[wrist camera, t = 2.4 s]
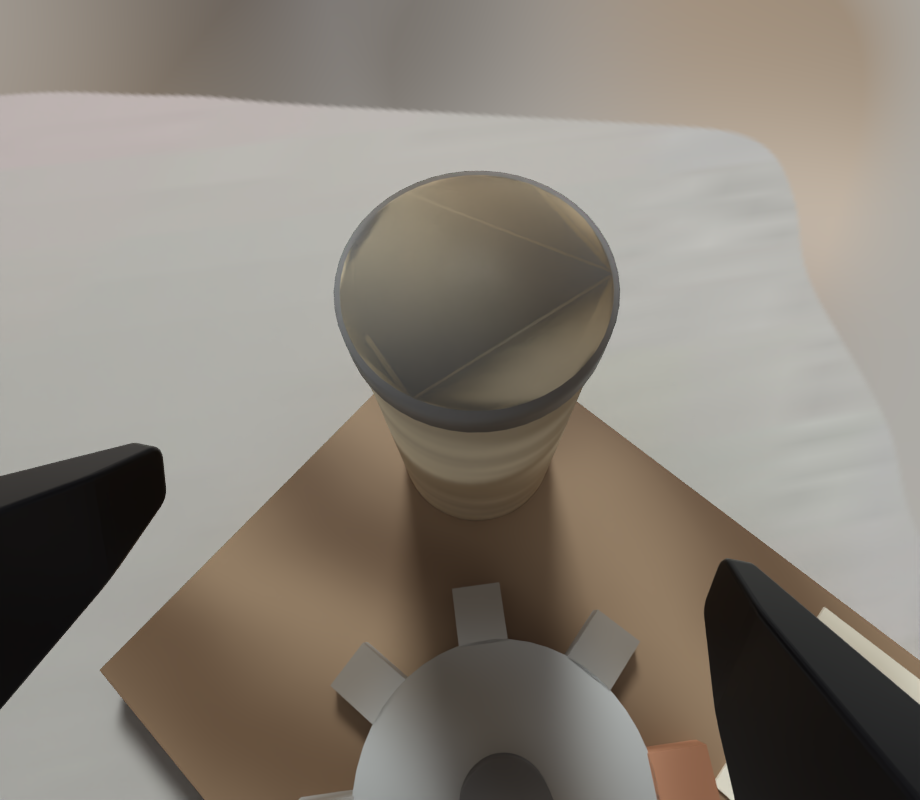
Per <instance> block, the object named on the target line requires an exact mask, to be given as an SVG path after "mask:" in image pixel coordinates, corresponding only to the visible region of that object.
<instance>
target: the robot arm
mask: <svg viewBox="0 0 920 800" xmlns="http://www.w3.org/2000/svg"><path fill="white" fill-rule="evenodd" d="M165 495H166V483H165V474H164V464H163V456H162V453H161V451H160V450H159V449H158V448H157V447H154V446H149V445H144V444H139V443H131V444H127V445H123V446H119V447H115V448H111V449H107V450H103V451H99V452H95V453H91V454H87V455H83V456H79V457H75V458H71V459H67V460H63V461H59V462H55V463H51V464H47V465H43V466H39V467H35V468H31V469H27V470H23V471H19V472H15V473H11V474H7V475H3V476H0V709H1V708H2V707H3V706H4V705H5V703H6V702H7V701H8V700H9V699H10V697H11V696H12V695H13V694H14V693H15V692H16V690H17V689H18V688H19V687H20V686H21V684H22V683H23V682H24V681H25V680H26V679H27V677H28V676H29V675H30V674H31V673H32V671H33V670H34V669H35V668H36V667H37V666H38V664H39V663H40V662H41V661H42V660H43V658H44V657H45V656H46V655H47V654H48V653H49V651H50V650H51V649H52V648H53V647H54V645H55V644H56V643H57V642H58V641H59V640H60V638H61V637H62V636H63V635H64V634H65V632H66V631H67V630H68V629H69V628H70V627H71V625H72V624H73V623H74V622H75V621H76V620H77V618H78V617H79V616H80V615H81V614H82V612H83V611H84V610H85V609H86V608H87V607H88V605H89V604H90V603H91V602H92V601H93V599H94V598H95V597H96V596H97V595H98V594H99V592H100V591H101V590H102V589H103V587H104V586H105V585H106V584H107V582H108V581H109V580H110V579H111V577H112V576H113V575H114V573H115V572H116V570H117V569H118V568H119V566H120V565H121V563H122V562H123V561H124V559H125V558H126V556H127V555H128V553H129V552H130V550H131V549H132V548H133V546H134V545H135V543H136V542H137V540H138V539H139V537H140V536H141V534H142V533H143V532H144V530H145V529H146V527H147V526H148V524H149V523H150V521H151V520H152V519H153V517H154V516H155V514H156V513H157V511H158V510H159V508H160V507H161V505H162V504H163V501H164V499H165ZM704 621H705V630H706V639H707V648H708V657H709V666H710V675H711V684H712V693H713V700H714V708H715V714H716V719H717V724H718V729H719V733H720V738H721V742H722V746H723V751H724V755H725V760H726V764H727V768H728V773H729V777H730V781H731V786H732V790H733V794H734V799H735V800H920V704H919V703H918V702H916V701H915V700H914V699H913V698H912V697H910V696H909V695H908V694H907V693H906V692H905V691H903V690H902V689H901V688H900V687H899V686H897V685H896V684H895V683H894V682H893V681H892V680H890V679H889V678H888V677H887V676H886V675H884V674H883V673H882V672H881V671H880V670H879V669H877V668H876V667H875V666H874V665H873V664H871V663H870V662H869V661H868V660H867V659H866V658H864V657H863V656H862V655H861V654H860V653H858V652H857V651H856V650H855V649H854V648H853V647H851V646H850V645H849V644H848V643H847V642H845V641H844V640H843V639H842V638H841V637H839V636H838V635H837V634H836V633H835V632H834V631H832V630H831V629H830V628H829V627H828V626H826V625H825V624H824V623H823V622H822V621H821V620H819V619H818V618H817V617H816V616H815V615H813V614H812V613H811V612H810V611H809V610H808V609H806V608H805V607H804V606H803V605H802V604H800V603H799V602H798V601H797V600H796V599H795V598H793V597H792V596H791V595H790V594H789V593H787V592H786V591H785V590H784V589H783V588H782V587H780V586H779V585H778V584H777V583H776V582H774V581H773V580H772V579H771V578H770V577H769V576H767V575H766V574H765V573H764V572H763V571H761V570H760V569H759V568H758V567H757V566H755V565H754V564H752V563H750V562H745V561H740V560H735V559H729V558H726V559H724V560H722V561H721V562H720V564H719V566H718V568H717V571H716V573H715V576H714V579H713V581H712V584H711V587H710V589H709V592H708V595H707V597H706V600H705V605H704Z"/></svg>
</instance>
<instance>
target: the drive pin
mask: <svg viewBox="0 0 920 800" xmlns="http://www.w3.org/2000/svg"><path fill="white" fill-rule="evenodd" d="M619 300H620V285H619V276H618V271H617V267H616V263H615V260H614V256H613V254H612V252H611V250H610V247H609V245H608V243H607V241H606V239H605V238H604V236H603V235H602V233H601V231H600V230H599V228H598V227H597V226H596V225H595V223H594V222H593V221H592V220H591V218H590V217H589V216H588V215H587V214H586V213H585V212H584V211H583V210H582V209H580V208H579V207H578V206H577V205H576V204H575V203H573V202H572V201H571V200H569V199H568V198H567V197H565V196H564V195H562V194H560V193H559V192H557V191H555V190H553V189H552V188H550V187H548V186H545V185H543V184H541V183H538V182H536V181H534V180H530V179H527V178H524V177H521V176H517V175H512V174H507V173H501V172H491V171H464V172H456V173H448V174H444V175H440V176H435V177H431V178H429V179H426V180H423V181H420V182H417V183H415V184H413V185H411V186H408V187H406V188H404V189H402V190H400V191H399V192H397V193H395V194H394V195H392V196H391V197H389V198H387V199H386V200H385V201H383V202H382V203H381V204H380V205H378V206H377V207H376V208H375V209H374V210H373V211H372V212H371V213H370V214H369V215H368V216H367V217H366V218H365V219H364V220H363V221H362V222H361V223H360V225H359V226H358V227H357V229H356V230H355V231H354V232H353V234H352V236H351V237H350V239H349V241H348V243H347V244H346V246H345V248H344V251H343V253H342V256H341V258H340V261H339V264H338V268H337V272H336V276H335V285H334V305H335V313H336V317H337V322H338V326H339V329H340V331H341V334H342V336H343V339H344V342H345V344H346V346H347V348H348V350H349V352H350V355H351V357H352V359H353V361H354V363H355V365H356V366H357V368H358V370H359V372H360V374H361V375H362V377H363V378H364V379H365V380H366V382H367V383H368V384H369V386H370V387H371V389H372V391H373V393H374V395H375V398H376V400H377V402H378V405H379V407H380V409H381V411H382V414H383V416H384V418H385V421H386V423H387V425H388V427H389V430H390V432H391V434H392V437H393V439H394V441H395V443H396V446H397V448H398V450H399V453H400V455H401V457H402V459H403V462H404V464H405V466H406V469H407V471H408V473H409V475H410V478H411V480H412V482H413V484H414V485H415V487H416V489H417V490H418V491H419V493H420V494H421V495H422V497H423V498H424V499H425V500H426V501H427V502H428V503H430V504H431V505H432V506H434V507H435V508H436V509H438V510H440V511H441V512H443V513H445V514H447V515H450V516H452V517H455V518H459V519H463V520H471V521H484V520H491V519H495V518H499V517H502V516H505V515H507V514H509V513H511V512H513V511H515V510H517V509H518V508H520V507H521V506H522V505H524V504H525V503H526V502H527V501H528V500H529V499H530V498H531V497H532V496H533V495H534V493H535V492H536V491H537V489H538V488H539V486H540V484H541V483H542V481H543V479H544V476H545V474H546V472H547V469H548V467H549V465H550V462H551V460H552V458H553V455H554V453H555V451H556V448H557V446H558V444H559V441H560V439H561V437H562V434H563V432H564V429H565V427H566V425H567V422H568V420H569V418H570V415H571V413H572V411H573V408H574V406H575V404H576V401H577V399H578V397H579V394H580V392H581V390H582V387H583V386H584V384H585V383H586V382H587V380H588V379H589V378H590V376H591V375H592V374H593V372H594V370H595V368H596V367H597V365H598V363H599V361H600V359H601V357H602V355H603V353H604V351H605V348H606V346H607V344H608V342H609V339H610V337H611V334H612V332H613V329H614V326H615V323H616V320H617V314H618V309H619Z"/></svg>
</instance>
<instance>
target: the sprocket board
mask: <svg viewBox="0 0 920 800" xmlns="http://www.w3.org/2000/svg"><path fill="white" fill-rule="evenodd" d="M726 558H729V559H735V560H740V561H745V562H750V563H752V564H754V565H755V566H757V567H758V568H759V569H760V570H761V571H763V572H764V573H765V574H766V575H767V576H769V577H770V578H771V579H772V580H773V581H774V582H776V583H777V584H778V585H779V586H780V587H782V588H783V589H784V590H785V591H786V592H787V593H789V594H790V595H791V596H792V597H793V598H795V599H796V600H797V601H798V602H799V603H800V604H802V605H803V606H804V607H805V608H806V609H808V610H809V611H810V612H811V613H812V614H813V615H815V616H816V617H817V618H818V619H819V620H821V621H822V622H823V623H824V624H825V625H826V626H828V627H829V628H830V629H831V630H832V631H834V632H835V633H836V634H837V635H838V636H839V637H841V638H842V639H843V640H844V641H845V642H847V643H848V644H849V645H850V646H851V647H853V648H854V649H855V650H856V651H857V652H858V653H860V654H861V655H862V656H863V657H864V658H866V659H867V660H868V661H869V662H870V663H871V664H873V665H874V666H875V667H876V668H877V669H879V670H880V671H881V672H882V673H883V674H884V675H886V676H887V677H888V678H889V679H890V680H892V681H893V682H894V683H895V684H896V685H897V686H899V687H900V688H901V689H902V690H903V691H905V692H906V693H907V694H908V695H909V696H910V697H912V698H913V699H914V700H915V701H916V702H918V703H919V704H920V660H918V659H917V658H916V657H914V656H913V655H912V654H910V653H909V652H908V651H906V650H905V649H904V648H902V647H901V646H900V645H898V644H897V643H896V642H894V641H893V640H892V639H890V638H889V637H888V636H886V635H885V634H884V633H882V632H881V631H880V630H878V629H877V628H876V627H875V626H873V625H872V624H871V623H869V622H868V621H867V620H865V619H864V618H863V617H861V616H860V615H859V614H857V613H856V612H855V611H853V610H852V609H851V608H849V607H848V606H847V605H845V604H844V603H843V602H841V601H840V600H839V599H837V598H836V597H835V596H833V595H832V594H831V593H829V592H828V591H827V590H826V589H824V588H823V587H822V586H820V585H819V584H818V583H816V582H815V581H814V580H812V579H811V578H810V577H808V576H807V575H806V574H804V573H803V572H802V571H800V570H799V569H798V568H796V567H795V566H794V565H792V564H791V563H790V562H788V561H787V560H786V559H784V558H783V557H782V556H780V555H779V554H778V553H777V552H775V551H774V550H773V549H771V548H770V547H769V546H767V545H766V544H765V543H763V542H762V541H761V540H759V539H758V538H757V537H755V536H754V535H753V534H751V533H750V532H749V531H747V530H746V529H745V528H743V527H742V526H741V525H739V524H738V523H737V522H735V521H734V520H733V519H731V518H730V517H729V516H727V515H726V514H725V513H724V512H722V511H721V510H720V509H718V508H717V507H716V506H714V505H713V504H712V503H710V502H709V501H708V500H706V499H705V498H704V497H702V496H701V495H700V494H698V493H697V492H696V491H694V490H693V489H692V488H690V487H689V486H688V485H686V484H685V483H684V482H682V481H681V480H680V479H678V478H677V477H676V476H675V475H673V474H672V473H671V472H669V471H668V470H667V469H665V468H664V467H663V466H661V465H660V464H659V463H657V462H656V461H655V460H653V459H652V458H651V457H649V456H648V455H647V454H645V453H644V452H643V451H641V450H640V449H639V448H637V447H636V446H635V445H633V444H632V443H631V442H629V441H628V440H627V439H626V438H624V437H623V436H622V435H620V434H619V433H618V432H616V431H615V430H614V429H612V428H611V427H610V426H608V425H607V424H606V423H604V422H603V421H602V420H600V419H599V418H598V417H596V416H595V415H594V414H592V413H591V412H590V411H588V410H587V409H586V408H584V407H583V406H582V405H580V404H579V403H578V402H577V401H576V404H575V406H574V408H573V411H572V413H571V415H570V418H569V420H568V422H567V425H566V427H565V429H564V432H563V434H562V437H561V439H560V441H559V444H558V446H557V448H556V451H555V453H554V455H553V458H552V460H551V462H550V465H549V467H548V469H547V472H546V474H545V476H544V479H543V481H542V483H541V484H540V486H539V488H538V489H537V491H536V492H535V493H534V495H533V496H532V497H531V498H530V499H529V500H528V501H527V502H526V503H525V504H524V505H522V506H521V507H520V508H518V509H517V510H515V511H513V512H511V513H509V514H507V515H505V516H502V517H499V518H495V519H491V520H484V521H471V520H463V519H459V518H455V517H452V516H450V515H447V514H445V513H443V512H441V511H440V510H438V509H436V508H435V507H434V506H432V505H431V504H430V503H428V502H427V501H426V500H425V499H424V498H423V497H422V495H421V494H420V493H419V491H418V490H417V489H416V487H415V485H414V484H413V482H412V480H411V478H410V475H409V473H408V471H407V469H406V466H405V464H404V462H403V459H402V457H401V455H400V453H399V450H398V448H397V446H396V443H395V441H394V439H393V437H392V434H391V432H390V430H389V427H388V425H387V423H386V421H385V418H384V416H383V414H382V411H381V409H380V407H379V405H378V402H377V400H376V398H375V395H374V394H373V395H372V396H371V397H370V398H369V399H368V400H367V401H366V402H365V403H364V404H363V405H362V406H361V407H360V408H359V409H358V411H357V412H356V413H355V414H354V415H353V416H352V417H351V418H350V419H349V420H348V421H347V422H346V423H345V424H344V425H343V426H342V427H341V428H340V429H339V430H338V431H337V432H336V433H335V434H334V435H333V436H332V437H331V438H330V439H329V440H328V441H327V442H326V443H325V444H324V445H323V446H322V447H321V448H320V449H319V450H318V451H317V452H316V453H315V454H314V455H313V456H312V457H311V458H310V459H309V460H308V461H307V462H306V463H305V464H304V465H303V466H302V467H301V468H300V469H299V470H298V471H297V472H296V473H295V474H294V475H293V476H292V477H291V478H290V479H289V480H288V481H287V482H286V483H285V484H284V485H283V486H282V487H281V488H280V489H279V490H278V491H277V492H276V493H275V494H274V495H273V496H272V497H271V498H270V499H269V500H268V501H267V502H266V503H265V504H264V505H263V506H262V507H261V508H260V509H259V510H258V511H257V512H256V513H255V514H254V515H253V516H252V517H251V518H250V519H249V520H248V521H247V522H246V523H245V524H244V525H243V526H242V527H241V528H240V529H239V530H238V531H237V532H236V533H235V534H234V535H233V536H232V537H231V538H230V539H229V540H228V541H227V542H226V543H225V544H224V545H223V546H222V547H221V548H220V549H219V550H218V551H217V552H216V553H215V554H214V555H213V556H212V557H211V558H210V559H209V560H208V561H207V562H206V563H205V564H204V566H203V567H202V568H201V569H200V570H199V571H198V572H197V573H196V574H195V575H194V576H193V577H192V578H191V579H190V580H189V581H188V582H187V583H186V584H185V585H184V586H183V587H182V588H181V589H180V590H179V591H178V592H177V593H176V594H175V595H174V596H173V597H172V598H171V599H170V600H169V601H168V602H167V603H166V604H165V605H164V606H163V607H162V608H161V609H160V610H159V611H158V612H157V613H156V614H155V615H154V616H153V617H152V618H151V619H150V620H149V621H148V622H147V623H146V624H145V625H144V626H143V627H142V628H141V629H140V630H139V631H138V632H137V633H136V634H135V635H134V636H133V637H132V638H131V639H130V640H129V641H128V642H127V643H126V644H125V645H124V646H123V647H122V648H121V649H120V650H119V651H118V652H117V653H116V654H115V655H114V656H113V657H112V658H111V659H110V660H109V661H108V662H107V663H106V664H105V665H104V666H103V667H102V668H101V669H100V671H101V673H102V674H103V675H104V676H105V677H106V679H107V680H108V681H109V682H110V684H111V685H112V686H113V687H114V689H115V690H116V691H117V692H118V694H119V695H120V696H121V697H122V698H123V700H124V701H125V702H126V703H127V705H128V706H129V707H130V708H131V710H132V711H133V712H134V713H135V715H136V716H137V717H138V718H139V719H140V721H141V722H142V723H143V724H144V726H145V727H146V728H147V729H148V731H149V732H150V733H151V734H152V736H153V737H154V738H155V739H156V740H157V742H158V743H159V744H160V745H161V747H162V748H163V749H164V750H165V752H166V753H167V754H168V755H169V757H170V758H171V759H172V760H173V761H174V763H175V764H176V765H177V766H178V768H179V769H180V770H181V771H182V773H183V774H184V775H185V776H186V778H187V779H188V780H189V781H190V782H191V784H192V785H193V786H194V787H195V789H196V790H197V791H198V792H199V794H200V795H201V796H202V797H203V799H204V800H735V799H734V794H733V790H732V786H731V781H730V777H729V773H728V768H727V764H726V760H725V755H724V751H723V746H722V742H721V738H720V733H719V729H718V724H717V719H716V714H715V708H714V700H713V693H712V684H711V675H710V666H709V657H708V648H707V639H706V630H705V621H704V605H705V600H706V597H707V595H708V592H709V589H710V587H711V584H712V581H713V579H714V576H715V573H716V571H717V568H718V566H719V564H720V562H721V561H722V560H724V559H726Z"/></svg>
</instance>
